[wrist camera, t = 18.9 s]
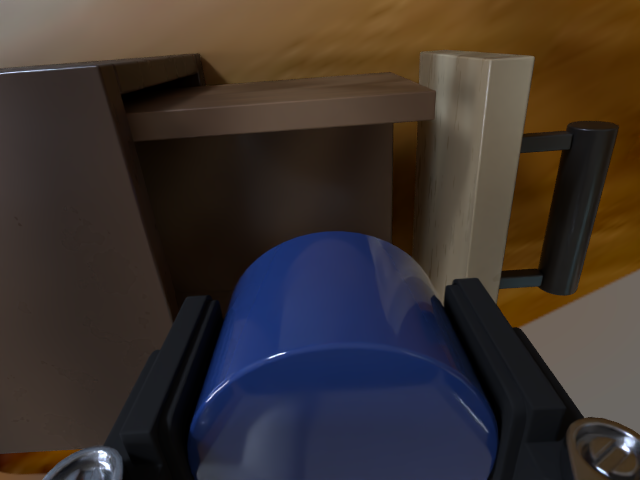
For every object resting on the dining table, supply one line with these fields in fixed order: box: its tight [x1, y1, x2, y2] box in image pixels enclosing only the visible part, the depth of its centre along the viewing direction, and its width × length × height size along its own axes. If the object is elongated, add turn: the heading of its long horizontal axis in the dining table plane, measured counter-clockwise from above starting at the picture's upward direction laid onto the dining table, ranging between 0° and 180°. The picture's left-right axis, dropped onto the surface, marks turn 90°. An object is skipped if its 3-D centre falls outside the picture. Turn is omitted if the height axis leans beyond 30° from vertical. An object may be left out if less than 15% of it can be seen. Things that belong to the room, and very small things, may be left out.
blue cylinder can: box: [186, 231, 499, 480], centre depth 9 cm, size 6×6×4 cm
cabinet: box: [0, 53, 206, 454], centre depth 17 cm, size 17×14×10 cm
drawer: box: [121, 50, 619, 320], centre depth 17 cm, size 20×12×8 cm, turn 94°
